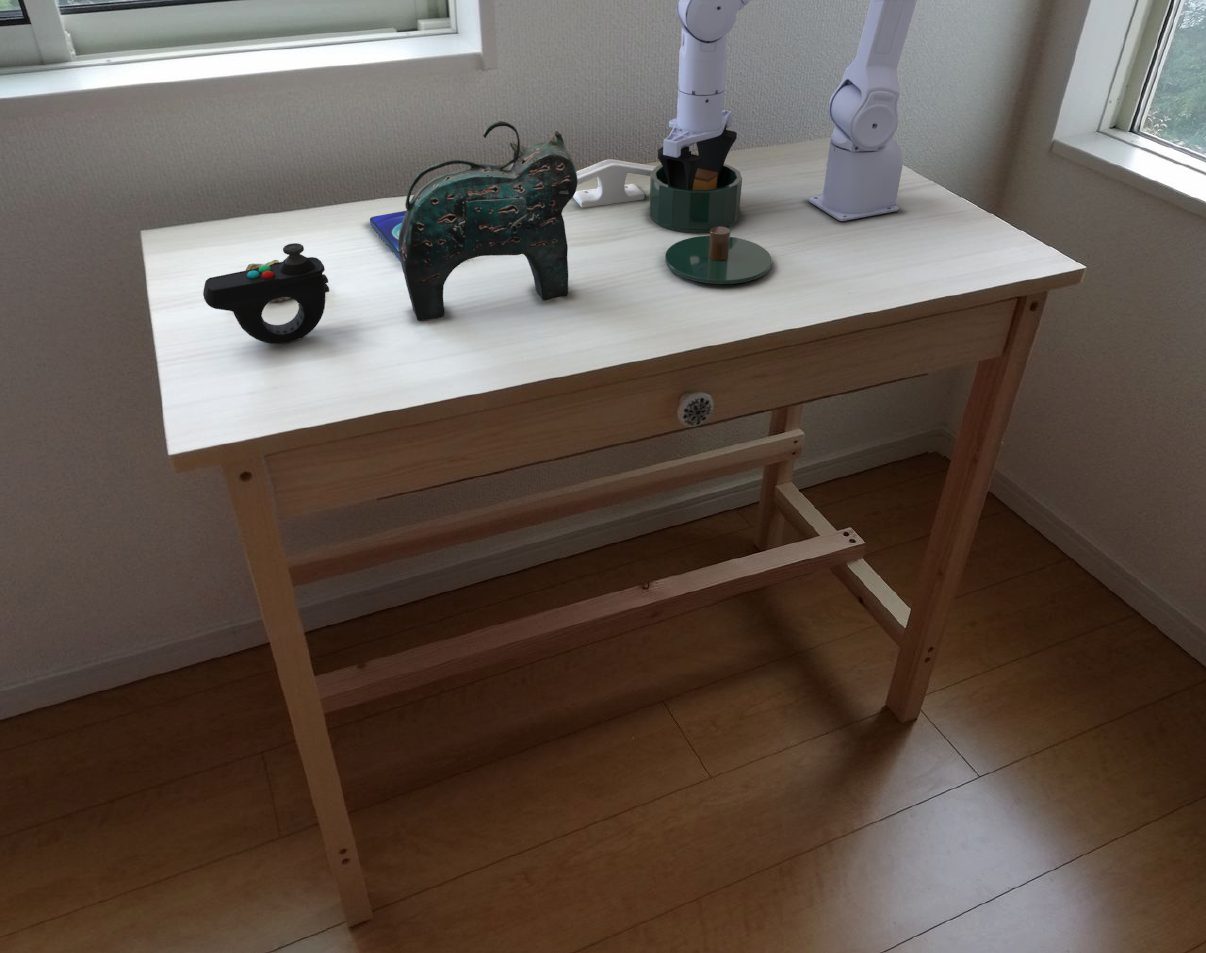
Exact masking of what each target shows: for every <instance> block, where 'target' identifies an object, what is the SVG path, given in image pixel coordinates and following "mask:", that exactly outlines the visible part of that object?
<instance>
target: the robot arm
mask: <svg viewBox="0 0 1206 953" xmlns="http://www.w3.org/2000/svg"><path fill="white" fill-rule="evenodd" d="M917 1H918V0H870V2H869V5H868V8H867V13H866V16H865V20H864V24H863V28H862V32H861V35H860V38H859V39H860V40H859V43H858V47H857V51H856V54H855V58H854V60H852V62H851V63H850V64H849V65H848V66H847V67H846V69H844V72H843V76H842V79H841V81H840V83H839V85H838V87H837V88H836V89H835V90H834V91H833V93H832V95H831V96H830V99H829V101H828V115H829V118H830V120H831V121H832V123H833V124H834V129H833V131H832V133H831V135H830V139H829V140H830V141H829V148H828V154H827V162H826V169H825V170H826V171H825V177H824V185H823V192H822V195H816V196H810V197H809V198H808V202H809V203H811V204H812V205H813V206H816V208H819V209H820V210H821V211H823V212H824V213H826V214H828V215H829V216H831V217H833V218H834V219H836V220H837V221H839V222H846V221H852V220H857V219H861V218H867V217H872V216H873V217H874V216H877V215H884V214H889V213H895V212H898V211H899V209H900V208H899V206H898V205H896V203H897V198H898V192H899V188H900V181H901V176H902V171H903V164H904V157H903V151H902V148H901V146H900V144H899V143H898V141H897V140H895V139H894V138H893V137H894V135H895V133H896V131H897V130H898V126H899V114H898V102H899V98H900V94H901V91H900V90H901V89H900V84H899V77H898V66H899V62H900V59H901V56H902V52H903V49H904V45H905V42H906V38H907V35H908V32H909V28H910V25H911V22H912V18H913V15H914V11H915V8H916V4H917ZM749 2H751V0H678V3H677V4H676V5H675V9H676V15H677V18H678V20H679V21H680V23H681V24H682V26H681V35H680V48H679V54H678V55H679V56H678V59H679V60H678V80H677V82H678V83H677V107H676V117H675V118H672V119H670V120H669V121H668V127H669V128H671V131H670V133H669V135H668V136H667V137H665V138H664V139H663V146H661V147H660V148H658V149H657V159H658V161H659V162H660V165H662V166H663V168H664V170H665V173H666V175H667V179H668V182H669V186H672V187H675V188H681V189H688V190H693V183H694V179H695V175H696V172H697V169H698V167H699V169H704V170H709V171H713V172H718V176H717V184H718V181H719V178H720V175H721V171H722V168H723V165H724V164H725V162H726V159H727V156H728V155H729V152H730V150H731V148H732V147H733V145H734V143H735V141H736V140H737V137H738V133H737V132H736V131H734V130H730V129H729V128H730V127H731V126H732V118H733V111H730V110H725V109H724V98H725V82H726V67H727V66H726V65H727V52H728V51H727V40H728V39H727V38H728V33H730V32H731V31H732V29H733V27H734V25H735V22H736V19H737V13H738V11H741V10H742V9H744V7H745V6H747V5H748V3H749ZM695 144H696V148H697V153H698V154H694V153H692V150H690V147H692V146H693V145H695Z"/></svg>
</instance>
